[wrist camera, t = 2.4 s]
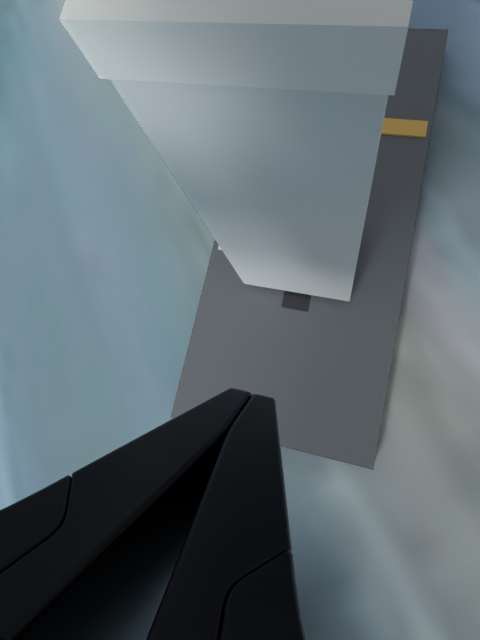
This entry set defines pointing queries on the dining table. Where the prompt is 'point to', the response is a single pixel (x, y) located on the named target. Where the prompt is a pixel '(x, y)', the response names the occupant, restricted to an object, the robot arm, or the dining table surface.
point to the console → (327, 301)
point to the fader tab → (259, 118)
